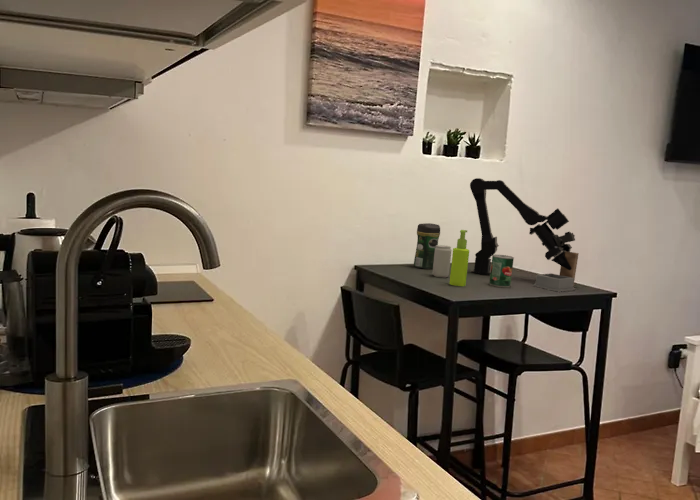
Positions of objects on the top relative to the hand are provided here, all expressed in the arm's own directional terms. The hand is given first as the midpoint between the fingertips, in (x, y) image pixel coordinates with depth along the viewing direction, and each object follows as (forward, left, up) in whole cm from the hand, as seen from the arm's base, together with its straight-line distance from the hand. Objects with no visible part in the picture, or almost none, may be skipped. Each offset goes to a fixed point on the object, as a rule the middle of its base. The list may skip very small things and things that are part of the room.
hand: (571, 268), depth 250 cm
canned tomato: (-29, +11, -7) cm, 32 cm away
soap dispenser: (-46, +17, -7) cm, 50 cm away
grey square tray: (-10, 0, -7) cm, 13 cm away
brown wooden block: (-1, +1, -7) cm, 7 cm away
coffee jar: (-31, +48, -7) cm, 58 cm away
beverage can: (-40, +31, -7) cm, 52 cm away
